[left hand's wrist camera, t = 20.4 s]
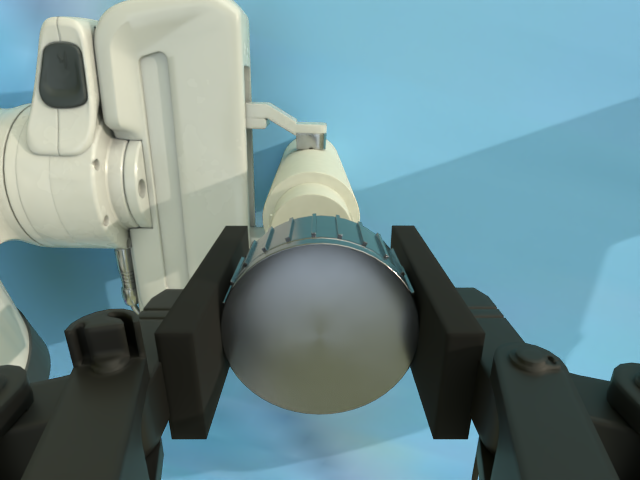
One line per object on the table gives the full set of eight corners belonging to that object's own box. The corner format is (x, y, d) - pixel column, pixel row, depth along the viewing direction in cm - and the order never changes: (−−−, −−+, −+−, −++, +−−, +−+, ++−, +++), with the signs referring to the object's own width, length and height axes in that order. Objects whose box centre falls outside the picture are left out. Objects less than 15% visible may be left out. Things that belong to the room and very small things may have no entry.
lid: (374, 184, 11) (385, 207, 9) (427, 335, 13) (447, 383, 11) (203, 249, 12) (179, 284, 10) (276, 384, 13) (268, 438, 11)
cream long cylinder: (293, 199, 33) (280, 295, 18) (273, 146, 32) (240, 202, 16) (346, 181, 33) (378, 264, 18) (328, 126, 31) (346, 165, 16)
